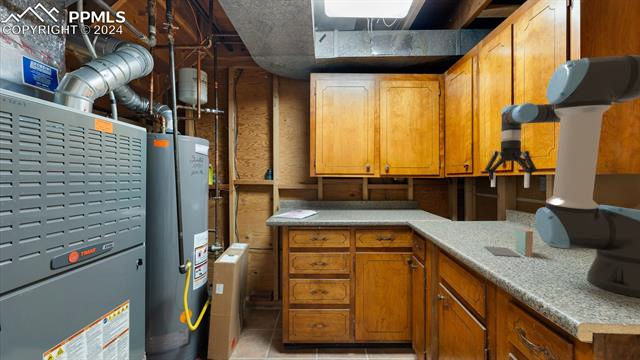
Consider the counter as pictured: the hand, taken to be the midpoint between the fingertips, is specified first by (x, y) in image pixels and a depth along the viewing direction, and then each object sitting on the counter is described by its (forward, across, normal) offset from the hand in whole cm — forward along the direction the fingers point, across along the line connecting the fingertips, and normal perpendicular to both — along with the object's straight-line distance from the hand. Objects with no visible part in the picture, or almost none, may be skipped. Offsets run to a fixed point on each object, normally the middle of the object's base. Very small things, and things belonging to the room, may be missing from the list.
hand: (509, 187), depth 124 cm
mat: (+26, +8, +14) cm, 31 cm away
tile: (+26, 0, +14) cm, 30 cm away
